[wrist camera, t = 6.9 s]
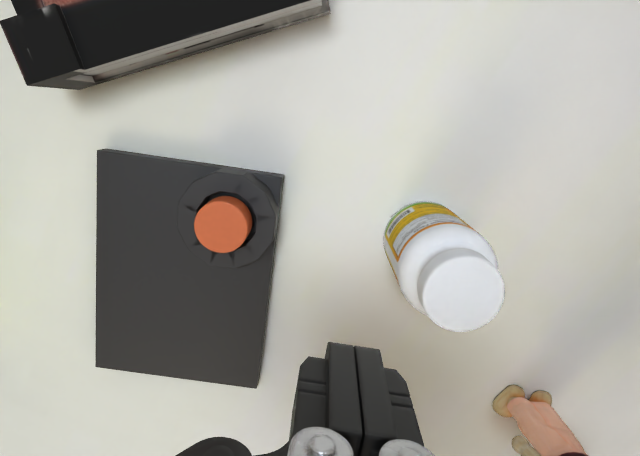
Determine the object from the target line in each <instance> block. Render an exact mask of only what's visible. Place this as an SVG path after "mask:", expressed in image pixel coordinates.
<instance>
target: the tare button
mask: <svg viewBox="0 0 640 456" xmlns="http://www.w3.org/2000/svg"><path fill="white" fill-rule="evenodd" d="M251 228H252V216H251V213H250V211H249V209H248V207H247V206H246V205H245V204H244V203H243V202H242V201H240V200H239V199H237V198H235V197H231V196H219V197H216V198H214V199H212V200H211V201H209V202H208V203H207V204H206V205H204V206H203V207H202V208H201V209H200V210H199V211H198V213H197V215H196V217H195V220H194V230H195V234H196V236H197V238H198V240H199V241H200V243H201V244H202V245H203V246H205V247H206V248H207V249H209V250H211V251H214V252H218V253H228V252H231V251H234V250H236V249H237V248H239V247H240V246H241V245H242V244H243V242H244V241H245V239H246V238H247V236H248V235H249V233H250V231H251Z"/></svg>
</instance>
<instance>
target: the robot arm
mask: <svg viewBox="0 0 640 456" xmlns="http://www.w3.org/2000/svg"><path fill="white" fill-rule="evenodd" d="M176 456H252V455H251V453H250V451H249V450H248V448H247V447H246V446H245V445H243V444H242V443H240V442H239V441H237V440H234V439H231V438H226V437H213V438H208V439H205V440H202V441H200V442H198V443H196V444H194V445H193V446H191V447H189V448H188V449H186V450H184V451H183V452H181V453H179V454H178V455H176ZM255 456H435V455H434V454H433V453H432V452H431V451H430V450H428V449H427V448H425V447H424V443H423V440H422V436H421V433H420V429H419V426H418V422H417V418H416V415H415V411H414V409H413V404H412V401H411V398H410V394H409V390H408V387H407V383H406V381H405V380H404V379H403V378H402V376H401V375H400V374H399V373H398V372H397V370H394V369H388V368H384V367H383V362H382V357H381V353H380V350H379V349H373V348H366V347H360V346H354V347H353V345H346V344H340V343H333V342H328V345H327V349H326V354H325V359H322V358H316V357H308V358H307V359H306V360H305V361H304V362H303V363H302V364H301V366H300V370H299V376H298V382H297V388H296V394H295V399H294V405H293V411H292V420H291V428H290V437H289V441H288V442H287V443H286V444H285V445H284V446H283V447H282V448H280V449H278V450H276V451H274V452H271V453H268V454H263V455H255Z"/></svg>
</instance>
